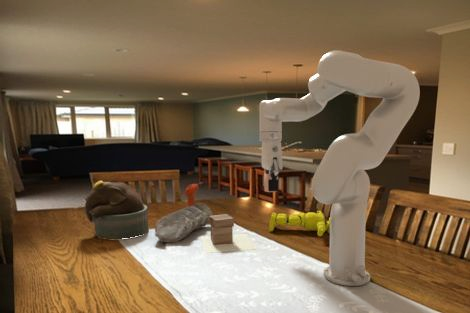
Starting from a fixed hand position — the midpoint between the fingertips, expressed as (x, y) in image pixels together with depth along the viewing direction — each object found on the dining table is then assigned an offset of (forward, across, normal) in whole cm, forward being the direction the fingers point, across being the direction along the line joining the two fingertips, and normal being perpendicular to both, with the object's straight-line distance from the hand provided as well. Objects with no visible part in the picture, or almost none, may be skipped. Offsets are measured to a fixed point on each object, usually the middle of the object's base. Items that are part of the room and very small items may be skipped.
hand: (270, 189), depth 127 cm
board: (+21, +7, +14) cm, 26 cm away
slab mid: (+17, +9, +16) cm, 25 cm away
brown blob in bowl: (+21, +31, +55) cm, 67 cm away
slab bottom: (+20, +9, +16) cm, 27 cm away
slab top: (+14, +9, +16) cm, 23 cm away
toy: (+21, +17, -20) cm, 34 cm away
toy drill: (+21, +61, +21) cm, 68 cm away
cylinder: (+1, 0, 0) cm, 1 cm away
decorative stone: (+21, +25, +29) cm, 44 cm away
